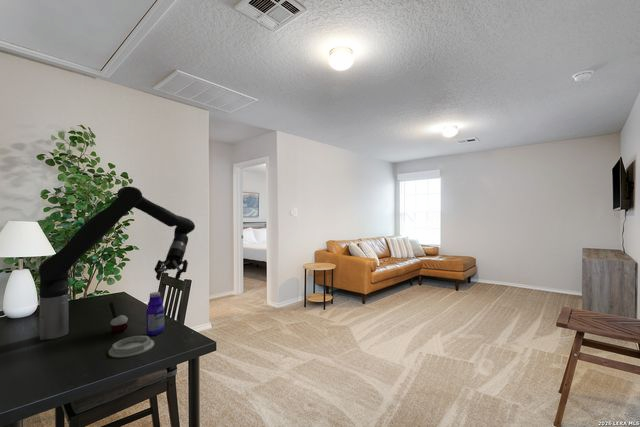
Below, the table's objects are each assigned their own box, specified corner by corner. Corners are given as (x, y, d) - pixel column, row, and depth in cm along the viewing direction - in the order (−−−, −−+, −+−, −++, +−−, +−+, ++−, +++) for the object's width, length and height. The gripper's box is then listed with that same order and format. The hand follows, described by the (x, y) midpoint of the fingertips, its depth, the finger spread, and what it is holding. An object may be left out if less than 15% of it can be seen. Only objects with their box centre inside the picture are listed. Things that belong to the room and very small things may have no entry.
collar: (112, 361, 107) (112, 354, 107) (105, 348, 118) (105, 341, 118) (159, 348, 117) (159, 342, 117) (148, 336, 128) (148, 331, 128)
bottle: (155, 336, 128) (154, 295, 128) (143, 335, 130) (143, 294, 129) (167, 330, 135) (166, 291, 135) (155, 329, 137) (155, 290, 137)
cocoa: (130, 332, 134) (131, 305, 134) (113, 336, 130) (115, 308, 129) (122, 326, 140) (123, 300, 140) (106, 329, 136) (107, 302, 135)
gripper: (159, 247, 152) (148, 275, 141) (189, 247, 153) (180, 274, 142) (164, 256, 157) (154, 283, 146) (192, 256, 158) (184, 283, 147)
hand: (167, 279), depth 144 cm, fingers open, 8 cm apart
